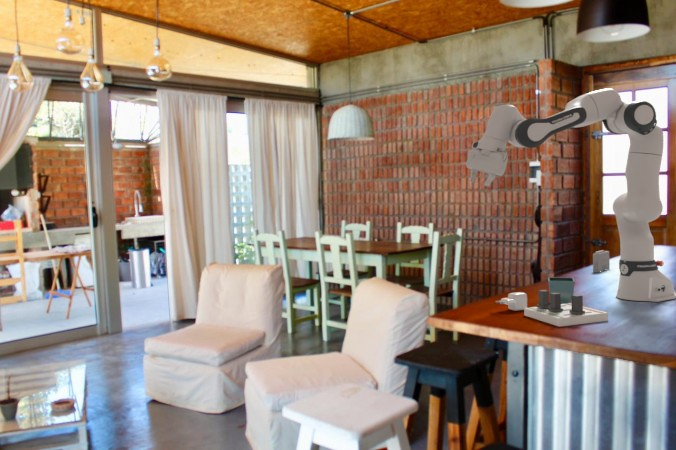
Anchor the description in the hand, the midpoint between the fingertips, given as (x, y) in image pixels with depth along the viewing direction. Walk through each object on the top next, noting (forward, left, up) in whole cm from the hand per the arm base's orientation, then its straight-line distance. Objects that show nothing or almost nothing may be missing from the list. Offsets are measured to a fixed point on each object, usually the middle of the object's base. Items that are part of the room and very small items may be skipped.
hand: (479, 184), depth 213 cm
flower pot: (-26, +11, -45) cm, 53 cm away
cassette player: (-94, -48, -45) cm, 115 cm away
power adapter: (-4, +13, -45) cm, 47 cm away
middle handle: (-8, +31, -42) cm, 53 cm away
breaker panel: (-12, +31, -44) cm, 55 cm away
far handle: (-8, +25, -42) cm, 49 cm away
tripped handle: (-12, +37, -42) cm, 57 cm away
